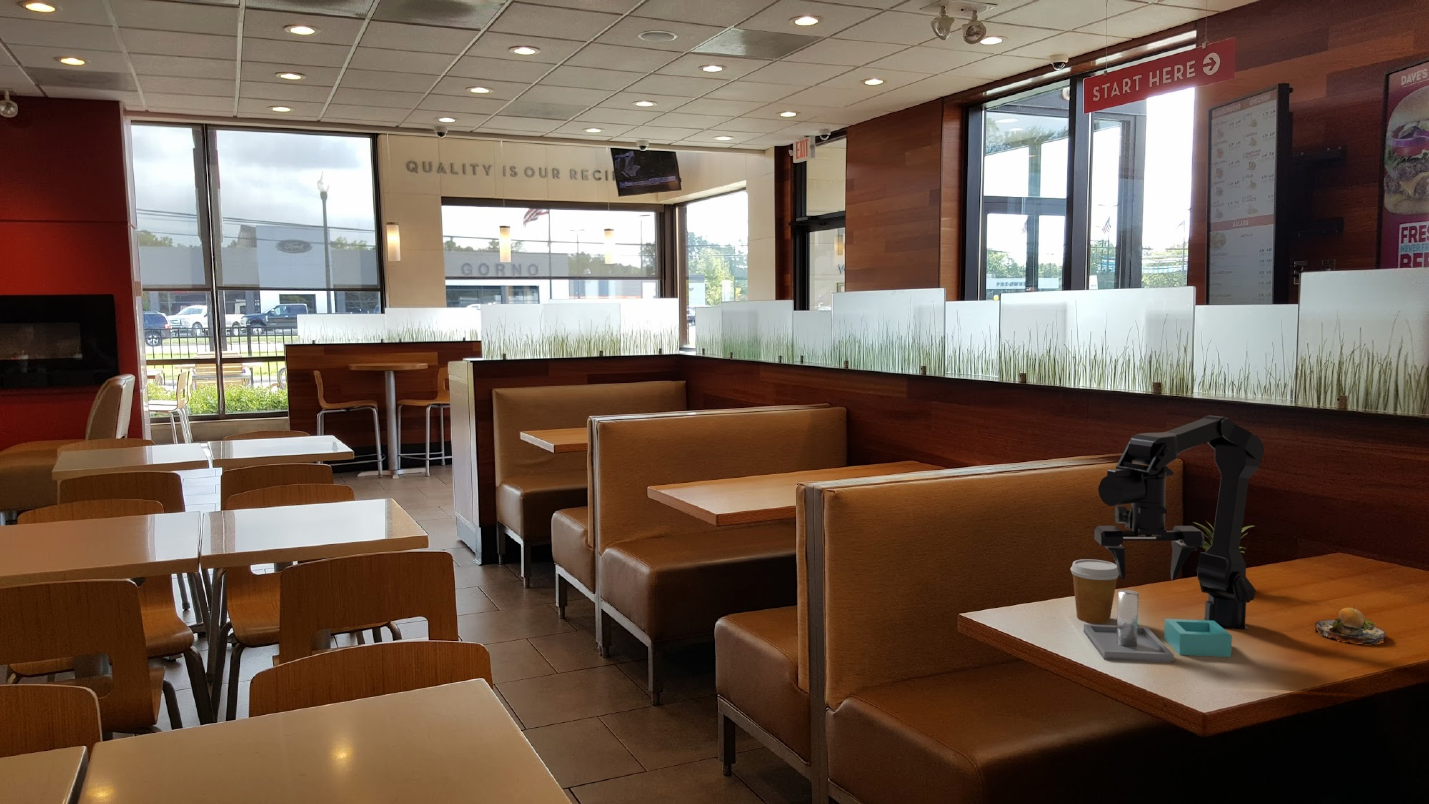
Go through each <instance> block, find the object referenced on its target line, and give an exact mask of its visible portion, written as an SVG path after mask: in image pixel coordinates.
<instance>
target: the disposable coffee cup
mask: <svg viewBox="0 0 1429 804" xmlns="http://www.w3.org/2000/svg"><path fill="white" fill-rule="evenodd" d="M1071 565H1072V566H1071V567H1070V571H1071V574H1072V579H1073V582H1072V583H1073V589H1074V591H1073V592H1074V600H1075V601H1074V602H1075V611H1076V618H1077V619H1078V620H1079V621H1081V622H1084V623H1088V624H1095V625H1103V624H1107V623H1109V622H1110V621H1111V617H1112V616H1111V614H1112V609H1113V602H1114V599H1115V598H1114V597H1115V591H1116V588H1117V587H1116V586H1117V582H1118V581H1117V580H1118V578H1119V576H1120V574H1119V571H1118V568H1117V565H1116V563H1113V562H1111V561H1107V560H1101V559H1087V558H1085V559H1077V560H1074V561H1073V562H1072V564H1071Z"/></svg>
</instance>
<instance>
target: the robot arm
mask: <svg viewBox="0 0 1429 804" xmlns="http://www.w3.org/2000/svg"><path fill="white" fill-rule="evenodd" d="M1204 444H1207V445H1208V446H1210V447H1211V448H1212V449H1213V450H1214V462H1215V464H1216V466H1217V468H1218V471H1219V473H1220V483H1219V491H1218V495H1217V496H1218V499H1217V504H1216V511H1215V519H1214V520H1215V521H1214V526H1213V528H1214V531H1213V532H1212V534H1213V538H1212V541H1211V542H1212V544H1211V546H1210V548H1209V549H1208V550H1207V551H1205V552H1203V551H1201V552H1199V554H1198V559H1197V560H1198V561H1197V566H1196V569H1195V572H1197V580H1198V583H1199V587H1200V591H1201V593H1203V594H1207V600H1206V601H1205V603H1204V619H1203V620H1211V621H1215V622H1216V623H1217V624H1219V625H1220V626H1221V627H1222V628H1223V629H1225V630H1249V627H1248V626H1246V614H1247V613H1246V611H1247V604H1248V603H1251V601H1254V599H1255V596H1256V593H1257V591H1256V588H1255V587H1254V586H1253V584H1252V583H1251V581H1250V580H1249V579H1248V577H1247V563H1246V561H1245V559H1244V557H1243V555H1242V553H1241V552H1240V551H1241V550H1240V549H1241V548H1240V547H1241V540H1242V538H1241V537H1242V533H1243V532H1242V528H1243V525H1244V517H1245V510H1246V503H1247V495H1248V488H1249V481H1250V479H1251V478H1252V476H1253V475H1254V474H1255V473H1256V472H1257V470H1259V468H1260V467H1261V463H1262V459H1263V455H1264V453H1265V446H1264V442H1262V440H1261V438H1260V437H1259V436H1258V435H1255V434H1253V432H1251V431H1249V430H1247V429H1245V428H1244V427H1241V426H1240V425H1238V424H1235V422H1233V421H1232V420H1231V419H1230V418H1228V417H1227V416H1226V417H1225V416H1217V415H1206V416H1203V417H1202V418H1200V419H1197V420H1195V421H1192V422H1190V423H1187V424H1184V425H1182V426H1178V427H1175V428H1173V429H1170V430H1168V431H1164V432H1143V433H1136V434H1134V435H1132V436H1131V437H1130V439H1129V442H1128V443H1127V446H1126V447H1125V448H1124V449H1125V450H1124V451H1123V453H1122V454H1121V456H1120V459H1119V460H1118V462H1117V464H1116V466H1115V469H1114V468H1110V469H1107V472H1106V473H1107V474H1106V475H1105V476H1104V477H1102V479H1101V480H1100V482H1099V485H1098V486H1097V487H1098V495H1099V498H1100V499H1101V501H1102V502H1103V503H1104V504H1105V505H1107V506H1109V507H1115V508H1114V521H1115V523H1116V524H1124V527H1125V529H1127V530H1121V529H1120V528H1119V527H1118V526H1116V525H1097V526H1096V527H1095V529H1094V530H1093V531H1094V540H1095V541H1096V542H1097V543H1098V544H1099V545H1100V546H1102V547H1105V549H1107V550H1108V551H1110V553H1111V555H1112V556H1113V559H1114V561H1115V564H1116V565H1117V568H1118V571H1119V576H1120V578H1121V580H1123V581H1125V580H1126V549H1125V547H1124V546H1123V545H1122V544H1123V543H1124V541H1125V542H1127V541H1128V542H1129V541H1130V542H1131V541H1133V542H1135V541H1136V542H1137V541H1139V542H1141V541H1147V542H1149V541H1150V542H1151V541H1154V542H1156V541H1157V542H1158V541H1159V542H1162V541H1163V542H1168V541H1169V542H1171V550H1172V553H1171V562H1170V580H1172V581H1175V580H1176V579H1177V577H1178V575H1179V572H1180V571H1181V569H1182V567H1183V565H1184V563H1185V562H1186V561H1187V559H1188V557H1189V556H1190V554H1191V553H1192V552H1194V551H1195V552H1196V551H1197V549H1198V548H1197V547H1199V548H1202V546H1204V541H1205V535H1204V534H1205V533H1204V532H1203V531H1202V530H1200V529H1199V530H1198V527H1195V526H1194V525H1174V526H1173V528H1172V530H1167V529H1166V522H1165V521H1166V515H1167V513H1168V512H1167V511H1168V508H1167V507H1166V484H1167V483H1166V477H1171V476H1174V474H1175V473H1174V471H1173V470H1171V469H1170V467H1168V465H1170V464H1171V463H1172V462H1174V461H1175V460H1177V459H1178V456H1179V454H1181V453H1182V452H1185V451H1187V450H1190V449H1193V448H1196V447H1198V446H1200V445H1204ZM1127 504H1128V505H1130V509H1129V510H1128V508H1127V506H1122V505H1127ZM1201 531H1202V532H1203V533H1204V534H1203V533H1202V532H1201ZM1239 548H1240V549H1239Z"/></svg>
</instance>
